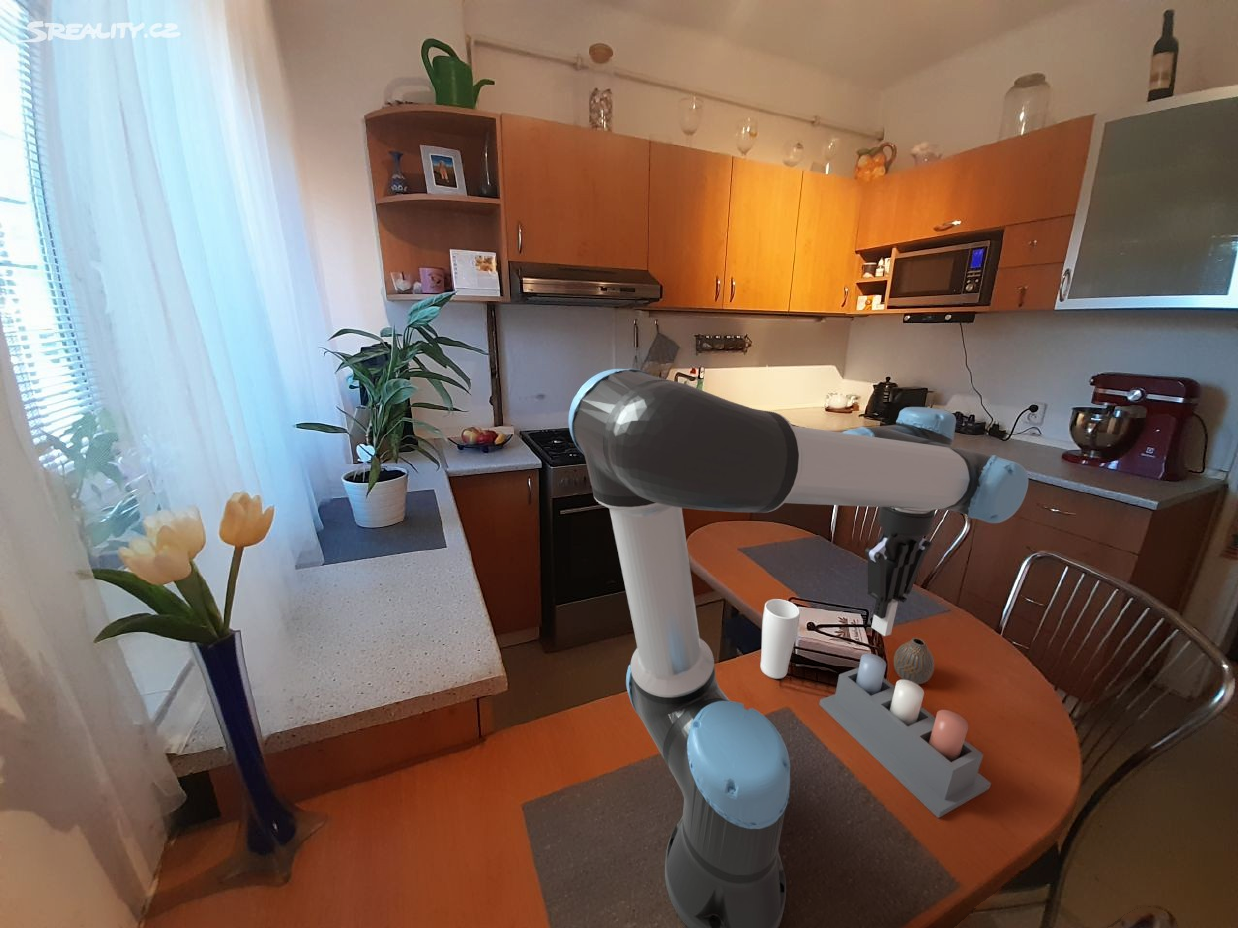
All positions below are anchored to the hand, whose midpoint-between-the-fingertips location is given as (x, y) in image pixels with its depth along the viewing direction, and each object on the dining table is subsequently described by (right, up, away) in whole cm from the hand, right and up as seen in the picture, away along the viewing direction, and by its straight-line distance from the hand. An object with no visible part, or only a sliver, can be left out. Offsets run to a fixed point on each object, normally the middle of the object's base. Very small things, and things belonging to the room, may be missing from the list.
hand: (880, 630), depth 83 cm
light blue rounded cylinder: (0, -13, +4) cm, 13 cm away
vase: (+14, -15, +15) cm, 25 cm away
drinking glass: (-14, -14, +16) cm, 25 cm away
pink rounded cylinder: (+5, -17, -8) cm, 19 cm away
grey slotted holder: (+2, -19, -1) cm, 19 cm away
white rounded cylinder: (+2, -15, -2) cm, 15 cm away
